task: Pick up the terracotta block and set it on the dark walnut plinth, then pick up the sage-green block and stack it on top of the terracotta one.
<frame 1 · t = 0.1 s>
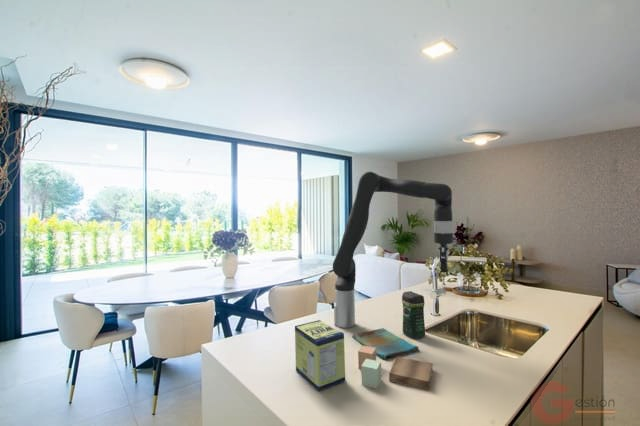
hand: (444, 270, 125), 29 cm above the worktop, fingers open, 8 cm apart
terracotta block: (367, 366, 104), on the worktop
dish towel: (383, 345, 122), on the worktop
plinth: (411, 375, 98), on the worktop
coffee jar: (413, 335, 130), on the worktop
sage block: (371, 382, 94), on the worktop
protein box: (319, 376, 99), on the worktop
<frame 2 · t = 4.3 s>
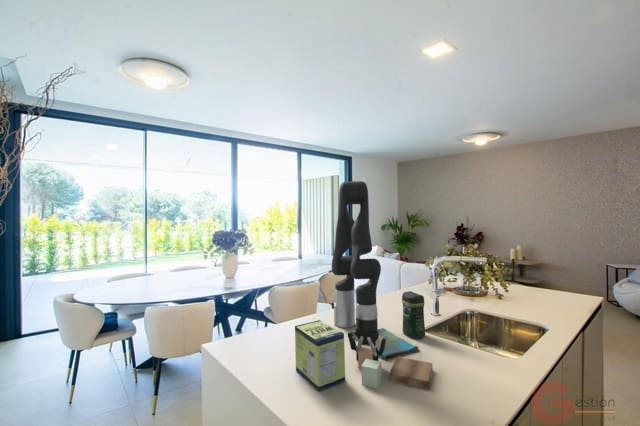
hand: (367, 363, 104), 1 cm above the worktop, fingers closed on terracotta block, 5 cm apart
terracotta block: (367, 366, 104), on the worktop, touching gripper
everything else where it was.
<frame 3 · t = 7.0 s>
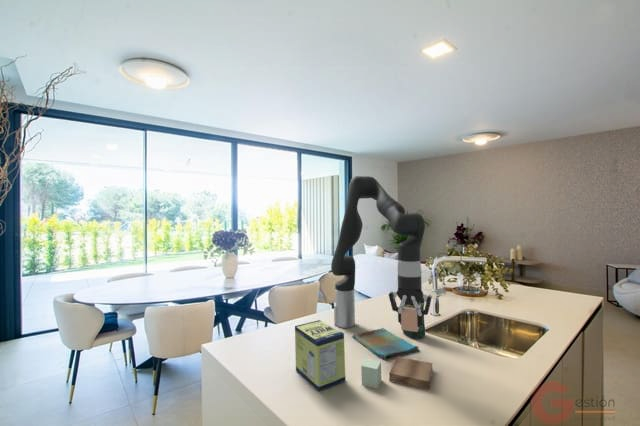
hand: (410, 324, 98), 17 cm above the worktop, fingers closed on terracotta block, 5 cm apart
terracotta block: (410, 328, 98), point 16 cm above the worktop, touching gripper
everything else where it was.
when the fingers open (4 cm above the worktop, at t = 9.6 s): terracotta block stays where it is, resting on plinth.
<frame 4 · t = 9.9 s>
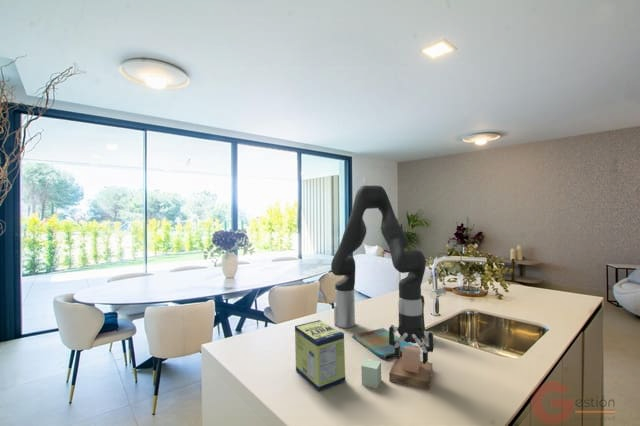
hand: (411, 360, 98), 5 cm above the worktop, fingers open, 8 cm apart
terracotta block: (411, 368, 98), point 2 cm above the worktop, touching plinth
everything else where it was.
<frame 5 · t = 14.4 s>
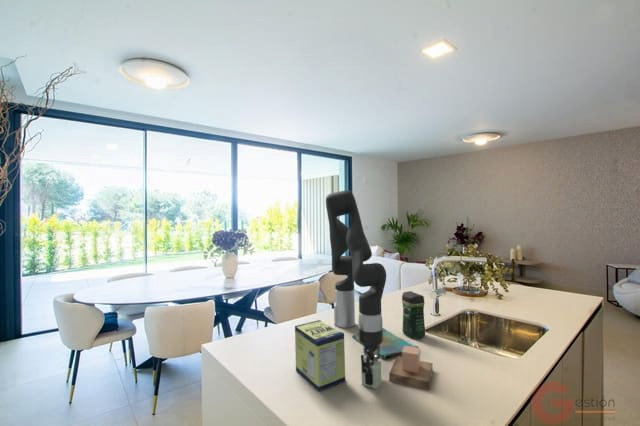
hand: (371, 379, 94), 1 cm above the worktop, fingers closed on sage block, 5 cm apart
sage block: (371, 382, 94), on the worktop, touching gripper
everything else where it was.
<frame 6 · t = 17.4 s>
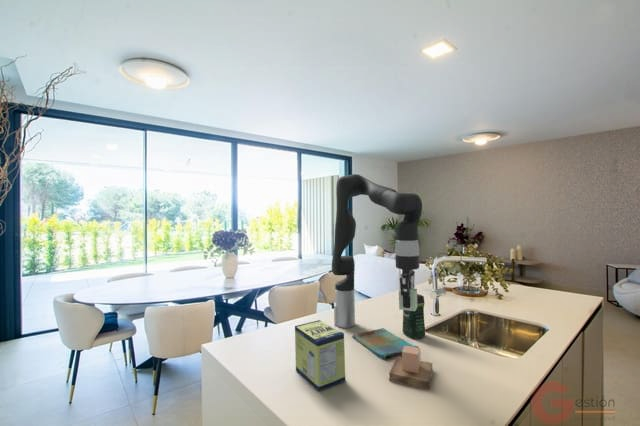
hand: (408, 304, 98), 23 cm above the worktop, fingers closed on sage block, 5 cm apart
sage block: (408, 308, 98), point 22 cm above the worktop, touching gripper
everything else where it was.
when the fingers open (10 cm above the worktop, at t = 20.4 s): sage block stays where it is, resting on terracotta block.
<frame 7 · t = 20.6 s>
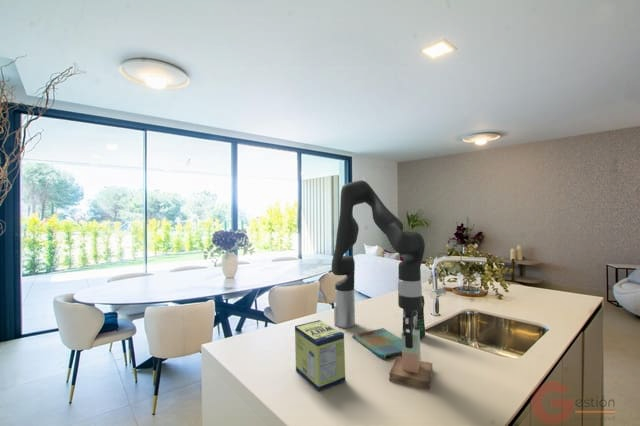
hand: (410, 342, 98), 11 cm above the worktop, fingers open, 7 cm apart
terracotta block: (411, 368, 98), point 2 cm above the worktop, touching plinth, sage block
sage block: (411, 349, 98), point 8 cm above the worktop, touching terracotta block
everything else where it was.
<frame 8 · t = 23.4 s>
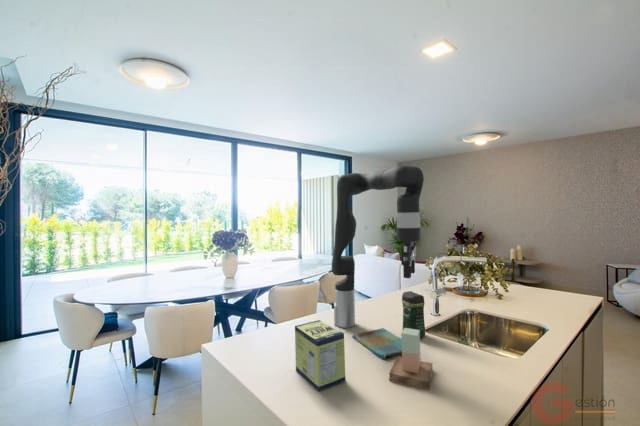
hand: (409, 275, 98), 33 cm above the worktop, fingers open, 8 cm apart
nothing on the worktop moved.
at the end: terracotta block inside the target area on the plinth (0.0 cm from its centre), point 2.5 cm above the plinth's base; sage block 0.0 cm off-centre on the terracotta block, point 6.0 cm above the terracotta block's base; sage block tilted 0° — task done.
